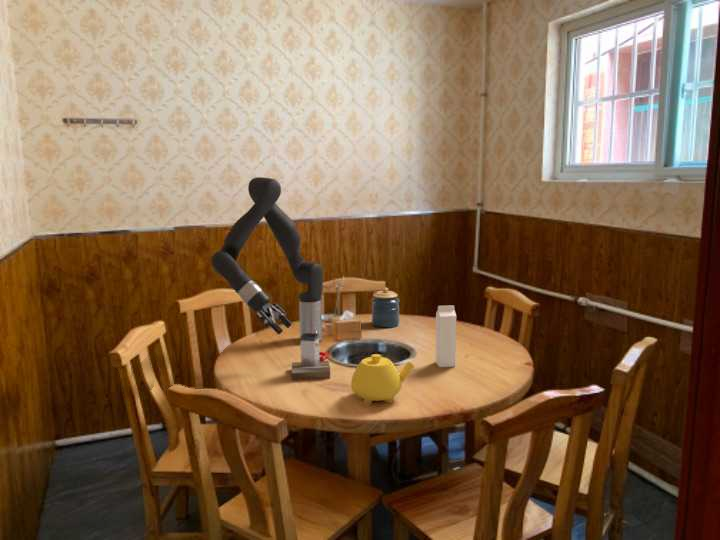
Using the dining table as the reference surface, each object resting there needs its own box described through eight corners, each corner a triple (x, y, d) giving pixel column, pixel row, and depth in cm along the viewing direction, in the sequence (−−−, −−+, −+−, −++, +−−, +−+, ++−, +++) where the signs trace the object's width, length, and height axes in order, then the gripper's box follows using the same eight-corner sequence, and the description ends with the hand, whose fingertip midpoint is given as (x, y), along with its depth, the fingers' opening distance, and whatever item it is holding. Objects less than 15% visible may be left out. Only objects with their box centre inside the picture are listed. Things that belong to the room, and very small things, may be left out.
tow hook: (309, 354, 215) (303, 360, 206) (309, 321, 214) (303, 326, 205) (330, 355, 214) (325, 361, 205) (330, 322, 212) (325, 327, 203)
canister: (386, 319, 265) (386, 283, 262) (405, 324, 255) (405, 287, 252) (365, 324, 256) (365, 287, 253) (384, 330, 246) (384, 291, 244)
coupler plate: (292, 369, 197) (292, 358, 196) (328, 367, 198) (328, 356, 197) (292, 380, 186) (291, 368, 185) (330, 378, 187) (330, 367, 186)
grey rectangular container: (301, 367, 191) (300, 337, 189) (306, 362, 196) (305, 333, 194) (316, 368, 189) (315, 338, 188) (320, 363, 194) (319, 333, 193)
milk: (435, 362, 203) (435, 304, 199) (451, 361, 203) (452, 303, 200) (439, 367, 197) (439, 307, 193) (455, 366, 197) (456, 307, 194)
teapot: (408, 385, 180) (408, 345, 177) (421, 404, 165) (421, 361, 162) (348, 389, 177) (347, 349, 175) (355, 409, 162) (354, 365, 159)
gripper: (252, 293, 185) (285, 327, 185) (268, 285, 199) (299, 317, 198) (238, 307, 187) (271, 342, 187) (255, 298, 201) (286, 330, 200)
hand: (285, 329), depth 192 cm, fingers open, 8 cm apart
